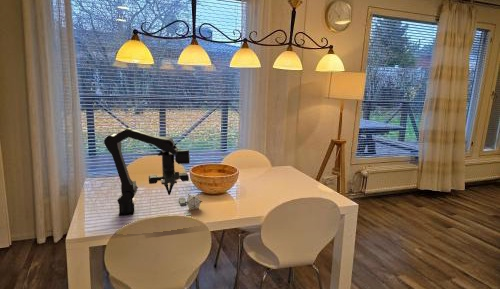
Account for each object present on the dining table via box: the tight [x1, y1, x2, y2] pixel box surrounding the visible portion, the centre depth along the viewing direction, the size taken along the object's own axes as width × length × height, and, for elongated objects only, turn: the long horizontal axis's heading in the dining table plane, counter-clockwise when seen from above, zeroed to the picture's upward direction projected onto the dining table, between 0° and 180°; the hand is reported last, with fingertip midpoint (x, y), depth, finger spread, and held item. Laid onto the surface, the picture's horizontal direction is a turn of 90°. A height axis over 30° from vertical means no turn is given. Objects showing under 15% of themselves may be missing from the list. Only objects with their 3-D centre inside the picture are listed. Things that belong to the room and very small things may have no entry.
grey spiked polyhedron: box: [185, 193, 203, 211], centre depth 170 cm, size 9×8×10 cm
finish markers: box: [178, 196, 192, 217], centre depth 171 cm, size 3×25×2 cm, turn 19°
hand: (169, 194), depth 165 cm, fingers closed
